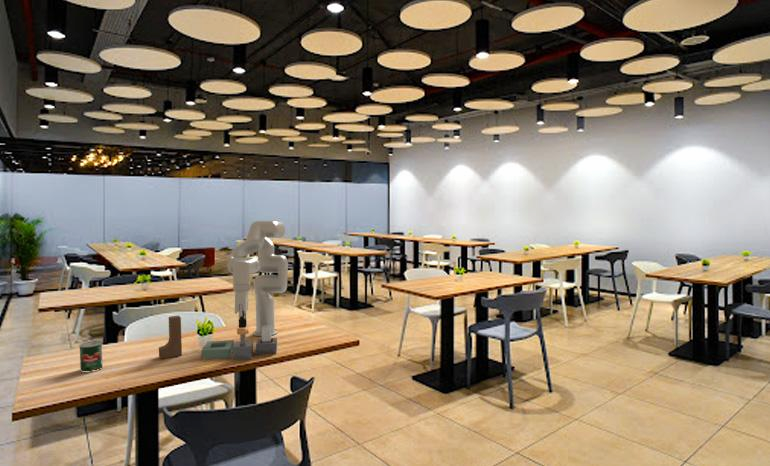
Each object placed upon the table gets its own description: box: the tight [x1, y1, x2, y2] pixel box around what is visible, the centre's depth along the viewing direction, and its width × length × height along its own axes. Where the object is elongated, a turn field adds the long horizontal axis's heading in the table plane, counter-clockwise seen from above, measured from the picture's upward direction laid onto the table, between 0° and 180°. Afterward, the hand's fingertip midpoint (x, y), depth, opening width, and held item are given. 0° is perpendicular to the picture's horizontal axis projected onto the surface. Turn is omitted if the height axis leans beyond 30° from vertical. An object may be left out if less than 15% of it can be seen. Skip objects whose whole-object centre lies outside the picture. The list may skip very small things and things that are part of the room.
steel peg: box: [261, 325, 272, 343], centre depth 216 cm, size 4×4×12 cm
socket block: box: [255, 337, 278, 356], centre depth 216 cm, size 9×9×5 cm
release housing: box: [232, 340, 254, 361], centre depth 209 cm, size 8×8×6 cm
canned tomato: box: [79, 340, 103, 371], centre depth 193 cm, size 8×8×11 cm
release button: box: [236, 326, 250, 345], centre depth 208 cm, size 5×5×9 cm
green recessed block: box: [201, 339, 235, 360], centre depth 213 cm, size 14×12×4 cm
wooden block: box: [158, 315, 183, 360], centre depth 209 cm, size 9×4×18 cm, turn 125°
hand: (242, 327), depth 208 cm, fingers closed
